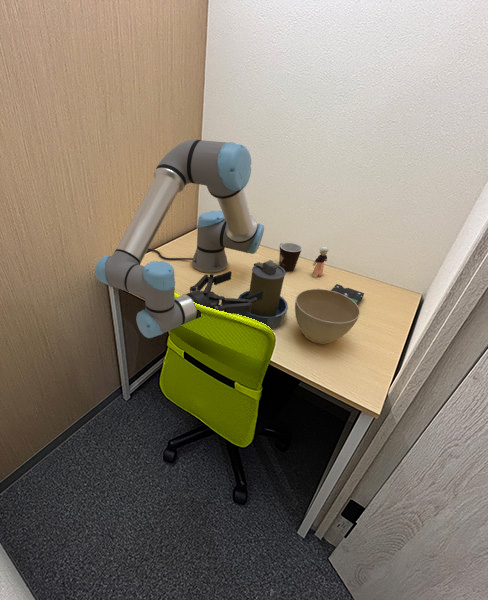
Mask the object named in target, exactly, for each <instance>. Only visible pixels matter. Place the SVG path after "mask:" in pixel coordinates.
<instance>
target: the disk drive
mask: <svg viewBox="0 0 488 600" xmlns="http://www.w3.org/2000/svg"><path fill="white" fill-rule="evenodd" d="M330 291H334V292H338V293H340V294H343V295H345V296H347V297H348V298H350V299H351V300H353V301H354V302H355V303H356V304H357V305H358V306H359V304H360V303H361V301H362V300H363V298H364V295H365V293H364V292H362V291H359V290H356V289H353V288H350V287H344V286H343V285H341V284H338V283H336V284H335V285H334V286H333V287H332V288H331V290H330Z"/></svg>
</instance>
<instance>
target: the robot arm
mask: <svg viewBox="0 0 488 600" xmlns="http://www.w3.org/2000/svg"><path fill="white" fill-rule="evenodd" d="M251 175H252V157H251V153H250V151H249V149H248V148H247V147H246V146H245V145H243V144H240V143H236V142H233V141H232V142H231V141H229V142H227V141H216V140H215V141H214V140H205V139H204V140H202V139H188V140H185V141H183V142H181V143H179V144H177V145H176V146H174V147H173V148H171V150H170V151H168V152H167V153H166V154H165V156H164V157H163V158H161V160H160V161H159V162H158V164H157V166H156V168H155V169H154V172H153V181H152V183H151V185H150V187H149V188H148V190H147V192H146V193H145V196H144V197H143V199H142V201H141V203H140V205H139V206H138V208H137V210H136V212H135V213H134V216H133V218H132V219H131V220H130V223H129V224H128V227H126V228H127V229H126V231H124V234H123V236H122V237H121V240H120V241H119V243H118V245H117V246H116V247H115V248H116V249H115V250H114V252H113V254H112V255H104V256H102V257H101V258H99V259H98V261H97V262H96V265H95V269H94V271H95V272H94V273H95V276H96V279H97V280H98V282H100V283H102V284H105V285H107V286H108V287H111V288H116V289H119V290H121V291H125V292H127V293H130V294H133V295H135V296H138V297H142V298H144V306H145V307H144V308H145V309H142V310H140V311H138V312H137V314H136V316H135V317H136V318H135V319H136V325H137V327H138V330H139V331H140V333H141V334H142V336H143V337H145V338H146V339H152V338H155V337H158V336H161V335H163V334H166V333H168V332H169V331H171V330H173V329H176V328H179V327H181V326H183V325H185V324H188V323H190V322H192V321H195V320H197V319H199V318H202V317H201V312H200V311H199V310H197V309H196V306H195V303H197V304H200V305H203V306H206V307H210V308H213V309H216V310H219V311H224V312H227V313H231V314H230V315H234V314H236V313H247V312H251V308H252V305H253V304H255V303H256V302H257V301H258V300H261V299H262V296H263V291H262V290H260V291H258V292H256V293H254V294H251V295H249V296H247V297H245V299H238V298H236V297H235V298H234V297H225V296H223V295H218V294H216V293H215V291H213V290H212V288H213V285H214V286H218V285H220V284H223V283H225V282H227V281H230V280H232V271H230V270H229V271H227V272H224V271H225V270H226V269H227V268H228V257H227V254H226V249H229V250H234V251H237V252H242V253H245V254H252V255H254V254H256V253H257V252H258V250H259V248H260V245H261V243H262V240H263V236H264V233H265V225H264V224H261V223H257V221H256V218H255V217H254V216H253V215H252V214H251V213H250V208H249V205H248V201H247V197H246V193H245V188H246V187H247V185H248V183H249V181H250V177H251ZM188 184H195V185H200V186H206V188H207V190H208V192H209V194H210V195H211V196H212V197H213V198H215V199H217V202H218V205H219V207H220V210H211V211H210V210H209V211H206V212H202V213H201V214H200V215H199V216H198V219H197V226H196V227H197V230H196V231H197V233H196V235H197V236H196V249H195V252H194V254H193V257H166V256H163V255H162V254H161V253H160V251H159V250H157V249H152V248H150V247H151V245H152V242H153V240H154V239H155V237H156V234H157V233H158V230H159V229H160V227H161V225H162V223H163V221H164V219H165V217H166V216H167V214H168V212H169V211H170V209H171V207H172V204H173V203H174V200H175V199H176V197H177V195H178V193H181V192H183V191H184V189H185V187H186V186H187V185H188ZM148 251H150V252H155V253H157V254H158V256H159V257H160V258H162V259H164V260H169V261H173V260H177V261H179V260H180V261H181V260H183V261H191V267H192V268H193V269H194V270H195V271H197V272H200V273H203V274H204V275H203V276H202V277H201V278H200V279H199V280H198V281H197V282H196V283H195V284H194V285H191V286H190V288H189V292H188V293H186V294H182V295H179V296H177V297H176V296H175V295H176V294H175V287H176V279H175V269H174V267H173V265H172V264H171V263H169V262H167V261H164V260H161V261H158V260H153V261H150V262H147V263H146V264H145V265H141V264H142V262H143V260H144V258H145V256H146V254H147V252H148ZM218 273H221V274H218ZM208 274H209V275H208ZM214 274H217V275H214ZM204 287H205V288H204ZM203 288H204V290H202V289H203ZM220 301H221V302H220ZM193 302H195V303H193ZM180 304H181V305H180Z"/></svg>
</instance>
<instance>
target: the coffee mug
mask: <svg viewBox="0 0 488 600" xmlns="http://www.w3.org/2000/svg"><path fill="white" fill-rule="evenodd" d="M302 250H303V247H302V246H301V245H300V244H297V243H293V242H281V243H280V244H279V257H278V265H279V266H280V267H282V268H283V269H284V270H285V272H286V273H293V272H294V271H295V268H296V265H297V263H298V261H299V259H300V256H301V252H302Z"/></svg>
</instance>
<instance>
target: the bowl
mask: <svg viewBox="0 0 488 600" xmlns="http://www.w3.org/2000/svg"><path fill="white" fill-rule="evenodd" d="M247 296H249V290H247V291H246V290H245V291H244V292H242V293H241V294H240V295H239V296H238V297H237V299H245V297H247ZM288 309H289V306H288V302H287V301H286V299H285V298H284V297H282V296H281V295H280V299H279V304H278V308H277V313H276V316H269V317H266V316H259V315H255V314H252V313H250V312H247V313H235V314H236V315H237V314H239V315H242V316H246V317H249V318H252V319H255V320H257V321H259V322H262V323H264V324H266V325H267V326H269V327H270V328H271V329H270V330H274V329H278V328H280V327H281V326H283V324H284V323H285V322H286V318H287V314H288Z"/></svg>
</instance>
